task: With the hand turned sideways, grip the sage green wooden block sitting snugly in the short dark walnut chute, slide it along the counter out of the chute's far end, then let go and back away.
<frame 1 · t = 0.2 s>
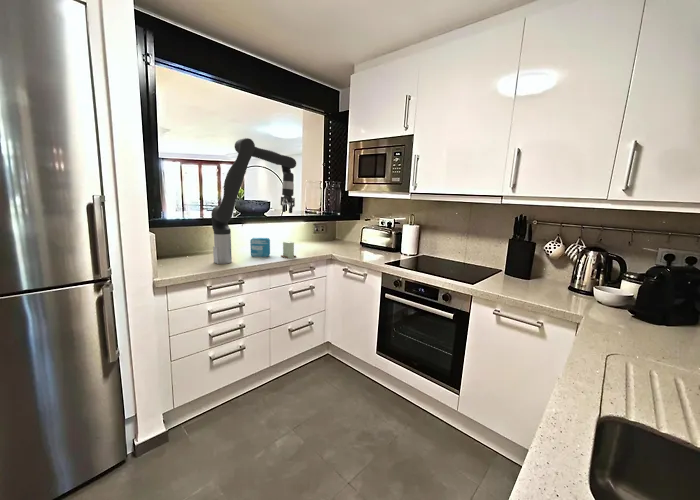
hand: (287, 212, 212), 29 cm above the worktop, tool pointing down, fingers open, 8 cm apart
sage block: (288, 257, 207), on the worktop
data package: (260, 256, 207), on the worktop
chute: (288, 257, 207), on the worktop
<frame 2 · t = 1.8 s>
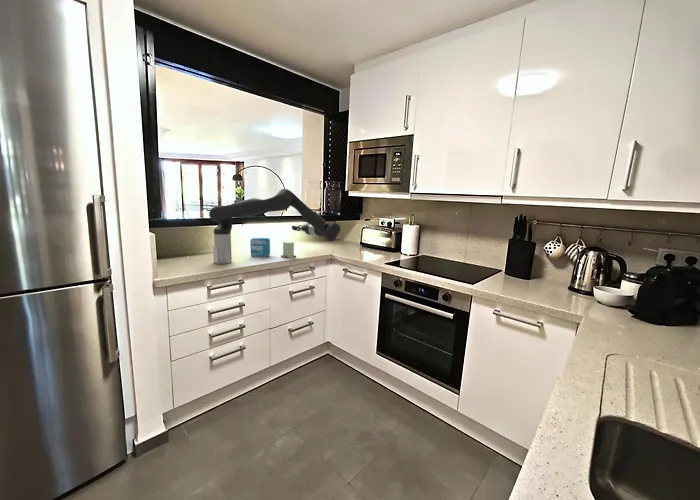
hand: (297, 226, 196), 21 cm above the worktop, tool horizontal, fingers open, 8 cm apart
nothing on the worktop moved.
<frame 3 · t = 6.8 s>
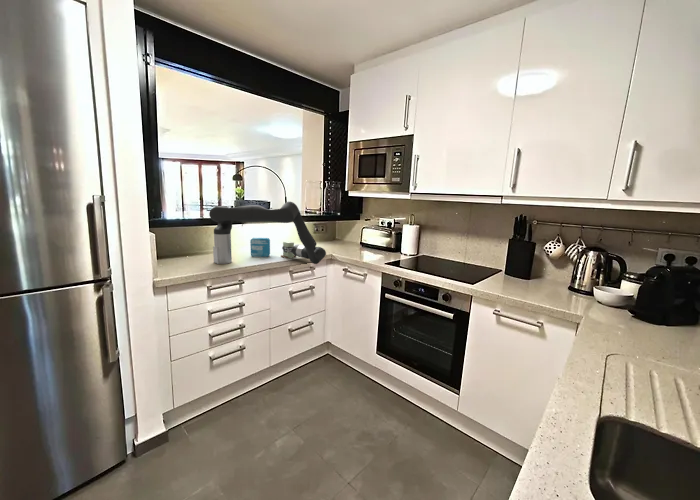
hand: (286, 247, 208), 6 cm above the worktop, tool horizontal, fingers closed on sage block, 4 cm apart
sage block: (288, 257, 207), on the worktop, touching gripper
everything else where it was.
when the fingers open (6 cm above the worktop, at t = 10.4 s): sage block stays where it is, on the worktop.
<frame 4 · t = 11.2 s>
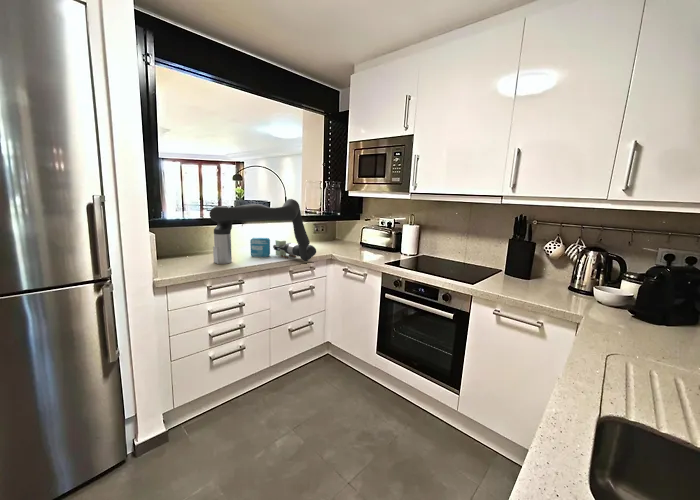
hand: (279, 245, 214), 6 cm above the worktop, tool horizontal, fingers open, 8 cm apart
sage block: (280, 254, 213), on the worktop
everything else where it was.
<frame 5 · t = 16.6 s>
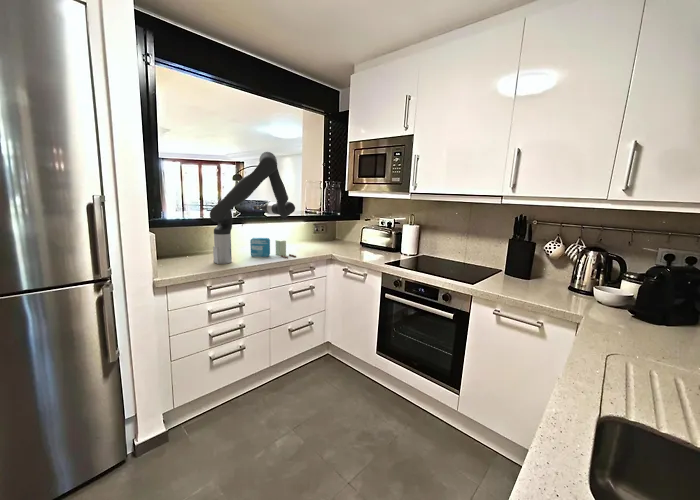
hand: (259, 207, 211), 32 cm above the worktop, tool horizontal, fingers open, 8 cm apart
nothing on the worktop moved.
at the end: sage block inside the target area (1.4 cm from its centre), on the worktop; sage block tilted 0°; the gripper is holding nothing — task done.
